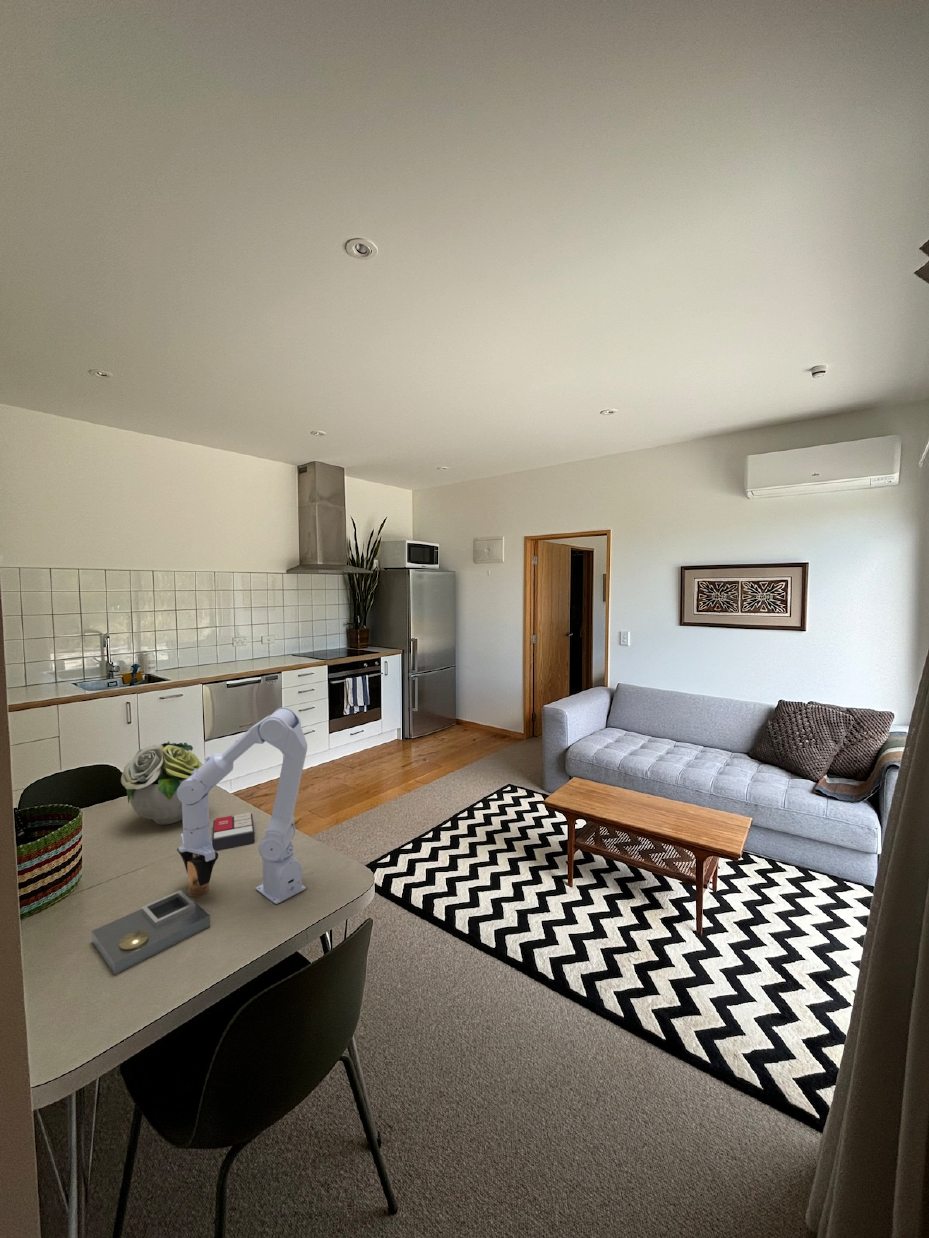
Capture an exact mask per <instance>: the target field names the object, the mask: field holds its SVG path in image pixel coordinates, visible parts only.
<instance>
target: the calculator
mask: <svg viewBox="0 0 929 1238" xmlns="http://www.w3.org/2000/svg"><path fill="white" fill-rule="evenodd" d="M254 824H255V823H254V817H253V813H251V812H245V813H240V814H235V815H234V816H232V815H228V816H222V817H216V818H214V819H213V821H212V834H211V835H212V836H211V841H212V846H213V849H214V850H215V852H218V851H223V850H228V849H235V848H237V847H244V846H248V845H253V844H255V843H256V841H255V827H254Z"/></svg>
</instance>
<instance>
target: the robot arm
mask: <svg viewBox="0 0 929 1238" xmlns="http://www.w3.org/2000/svg"><path fill="white" fill-rule="evenodd" d="M264 743H268V744H269V745H272V746H273V747H274V748H276V749H277V750H279V751H280V752H281V753H282V754H283V760H282V763H281V769H280V770H281V771H280V774H279V779H278V783H277V789H276V793H275V798H274V802H273V806H272V812H271V816H270V820H269V822H268V824H267V828H266V830H265V835H264V837H263V838H262V839H261V841H260V842H259V844H258V848H257V849H258V854H259V856H260V857H261V858H262V862H261V863H262V884H259V885H258V886H256V887H255V890H256V891H257V892H259V893H260V894H261V895H263V896H264V897H265V898H267V899H268V900H269V901H270V902H272V903H274V904H275V905H278V904H279V903H282V902H284V901H285V900H288V899H289V898H292V897H293V896H295V895H297V894H299V893H300V892H303V891H304V890H306V886H304V885H303V877H302V875H303V874H302V873H303V872H302V871H303V870H302V868H303V867H302V864H301V863H300V862H299V861H298V860H297V858H296V857H295V851H294V845H293V843H292V840H293V839H294V837H295V835H296V826H295V819H296V818H295V815H294V812H295V809H296V803H297V799H298V794H299V789H300V788H299V787H300V785H301V780H302V775H303V770H304V766H305V765H304V764H305V761H306V756H307V751H308V742H307V740H306V737H305V733H304V732H303V728H302V724H301V718H300V717H299V715H297V714H296V713H295V712H294V711H293V710H292V709H291V708H288V707H278V708H277V709H275V710H274V712H272V714H268V715H267V716H266V717H264V718H263V719H261V720H260V721H258V722H257V723H255V724H254V725H252V726H251V727H250V728H248V729H247V731H245V733H244V734H242V735H241V736H240V738H238V739H237V740H236V741H235V742H234V743H233V744H232V745H231V746H230V747H228V749H227V750H226V751H224V752H216V753H214V754H212V753H211V754H209V755H207V757H206V758H205V762H204V763H202V764H203V765H202V766H201V767H200V768H199V769H195V770H194V771H192V772H191V774H192V775H191V776H190V777H189V778H188V779H186V780H185V781H183V782H182V783H181V784H180V786H179V787H178V789H177V797H178V799H179V800H180V801H181V802H182V817H183V819H182V833H181V834H180V843H182V845H181V846H178V847H177V849H176V852H178V853H179V855H180V857H181V860H182V861H183V864H184V867H185V871H186V874H187V875H188V866H187V861H188V860H189V859H190V858H192V857H193V853H196V854H199V855H200V857H197V858H194V859H192V860H191V862H192V863H193V865H194V867H195V869H196V872H197V877H198V882H199V885H200V886H202V885H205V884H207V883H209V884H210V881H211V877H212V872H213V868H214V866H215V864H216V861H217V860H218V858H219V853H218V851H215V850H214V849H213V846H212V837H211V826H210V825H211V823H210V821H211V820H210V803H209V802H210V800H209V793H210V791H211V790H212V789H213V788H214V787H215V786H217V784H219V783H220V782H221V781H222V780H223V779H224V778H226V777H227V776H228V775H229V774H230V773H231V772H232V771H233V770H234V762H235V761H236V760H237V759H238V758H240V756H243V754H244V753H246V751H248V750H249V749H250V748H251V747H253V746H254V745H256V744H259V745H260V744H264Z"/></svg>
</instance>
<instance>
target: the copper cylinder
mask: <svg viewBox="0 0 929 1238" xmlns="http://www.w3.org/2000/svg"><path fill="white" fill-rule="evenodd" d="M197 857H200V855H199V854H196V853H193V857H192V858H190V859H189V860H188V861H187V866H188V874H187V886H188V889H187V890H188V896H189V897H190V898H199V897H202V896H204V895H206V894H207V893H209V891H210V882H209V883H207V884H205V885H202V886H200V885H199V882H198V877H197V872H196V869H195V867H194V865H193V863H192V862H191V860H192V859H194V858H197Z"/></svg>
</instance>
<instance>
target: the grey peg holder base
mask: <svg viewBox="0 0 929 1238" xmlns="http://www.w3.org/2000/svg"><path fill="white" fill-rule="evenodd" d="M210 927H211V915H210V914H209V913H208V911H206V910H205V909H204V908H203V907H201V906H200V905H199V903H197V902H196V901H195V900H194V899H193V897H191V896H189V894H187V893H186V892H185V891H184V890H180V889H179V890H177V891H175V892H172V893H171V894H168V895H166V896H164V897H161V898H159V899H157V900H154V901H151V902H150V903H147V904H145V905H143V906H141V907H140V909H139V910H136V911H134V912H132V913H130V914H128V915H125V916H122V917H120V918H117V919H116V920H113V921H111V922H109V923H106V924H104V925H101V926H99V927H97V928H95V929H93V930H91V941H92V944H93V945H94V947H95V948H96V950H97V951H98V952H99V954H100V956H101V957H102V959H103V960H104V962H106V964H107V966H108V968H109V969H110V970H111V972H112V973H113V975H115V976H116V975H118V974H120V973H122V972H123V971H126V970H128V969H130V968H132V967H133V966H135V965H137V964H139V963H141V962H144V961H145V960H147V959H149V958H151V957H152V956H155V955H157V954H159V953H161V952H163V951H165V950H167V949H169V948H170V947H173V946H174V945H176V944H179V943H180V942H182V941H184V940H186V939H188V938H190V937H193V936H194V935H196V934H198V933H200V932H202V931H203V930H205V929H208V928H210Z"/></svg>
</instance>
